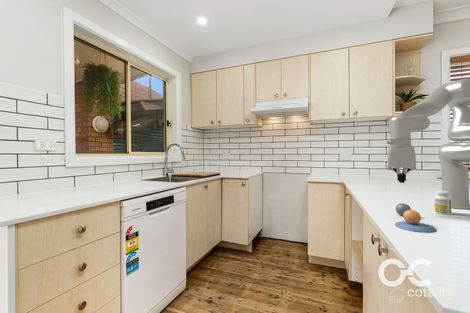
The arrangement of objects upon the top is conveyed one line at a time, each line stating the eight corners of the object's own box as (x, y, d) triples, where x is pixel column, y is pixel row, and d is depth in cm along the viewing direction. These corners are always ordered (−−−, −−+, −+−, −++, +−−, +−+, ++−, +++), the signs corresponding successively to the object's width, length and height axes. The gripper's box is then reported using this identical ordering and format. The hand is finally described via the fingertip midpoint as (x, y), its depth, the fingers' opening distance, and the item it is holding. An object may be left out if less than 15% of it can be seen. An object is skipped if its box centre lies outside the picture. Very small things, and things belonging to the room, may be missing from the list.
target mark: (392, 220, 90) (392, 220, 90) (430, 224, 84) (430, 223, 84) (398, 230, 79) (398, 229, 79) (441, 234, 73) (441, 234, 73)
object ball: (402, 206, 87) (405, 217, 83) (420, 207, 84) (423, 218, 80) (401, 215, 90) (403, 226, 86) (418, 216, 87) (421, 227, 83)
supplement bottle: (444, 211, 100) (443, 190, 99) (455, 214, 94) (454, 192, 94) (431, 211, 100) (431, 190, 100) (441, 214, 95) (441, 192, 95)
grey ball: (394, 202, 96) (396, 215, 94) (410, 202, 93) (413, 215, 91) (394, 203, 100) (396, 216, 98) (409, 203, 97) (411, 216, 95)
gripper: (382, 143, 100) (383, 183, 100) (423, 141, 93) (425, 184, 93) (380, 144, 107) (381, 181, 107) (418, 142, 100) (420, 181, 100)
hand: (401, 182), depth 100 cm, fingers closed
